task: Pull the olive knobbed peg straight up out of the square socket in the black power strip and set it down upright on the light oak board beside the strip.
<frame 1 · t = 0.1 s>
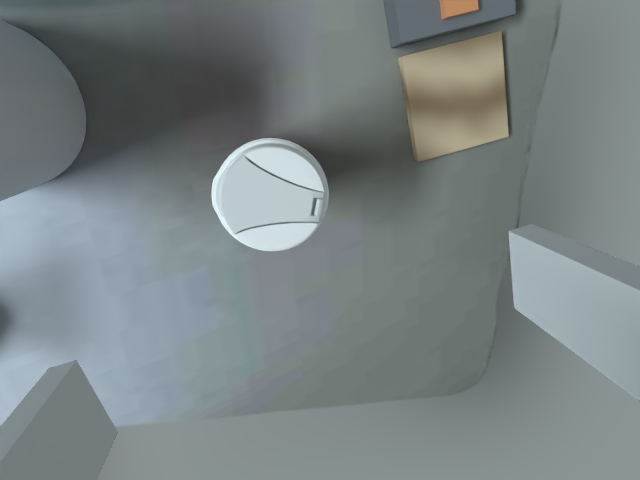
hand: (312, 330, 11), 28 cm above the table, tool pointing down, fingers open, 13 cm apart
oak board: (453, 99, 38), on the table
paper cup: (267, 170, 37), on the table
utensil holder: (5, 108, 32), on the table
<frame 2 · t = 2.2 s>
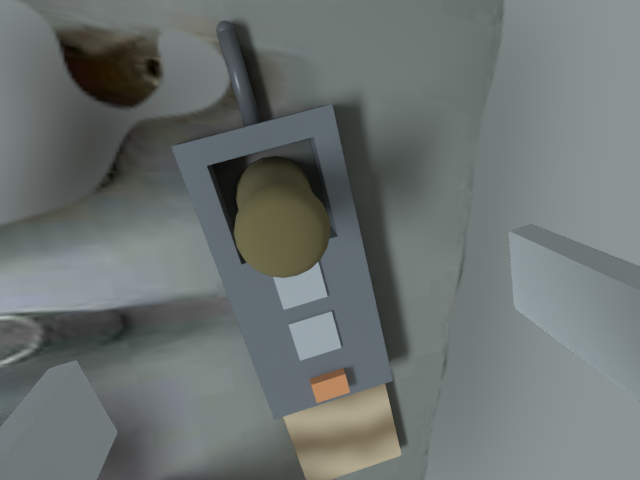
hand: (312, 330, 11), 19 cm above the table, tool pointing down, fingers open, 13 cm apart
oak board: (342, 427, 38), on the table
power strip: (296, 269, 31), on the table
olive knobbed peg: (274, 195, 29), resting in power strip
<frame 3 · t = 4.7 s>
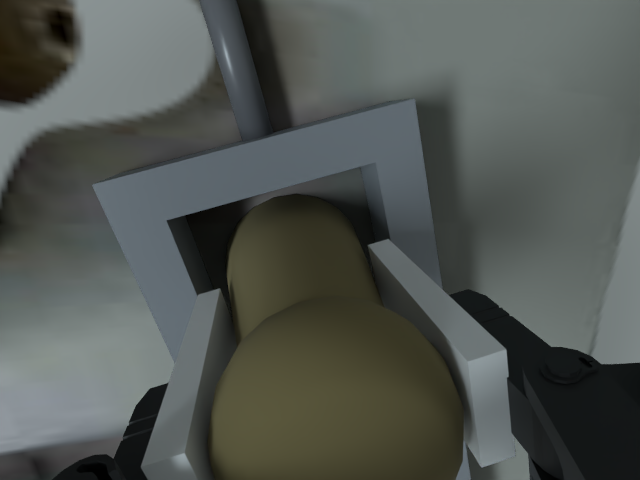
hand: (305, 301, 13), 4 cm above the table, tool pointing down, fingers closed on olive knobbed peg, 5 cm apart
power strip: (328, 376, 19), on the table
olive knobbed peg: (294, 259, 17), resting in power strip, touching gripper
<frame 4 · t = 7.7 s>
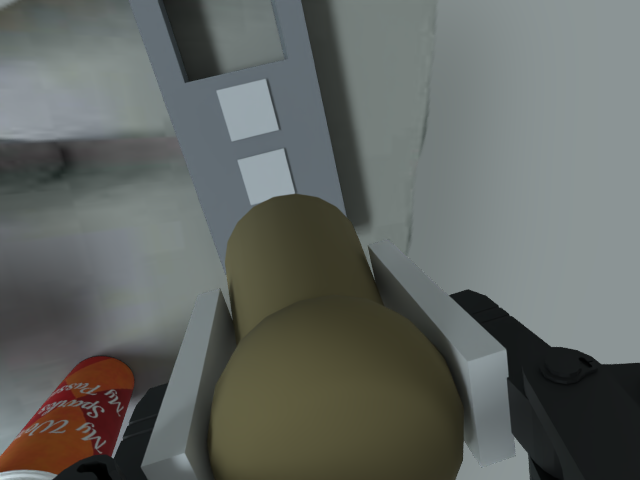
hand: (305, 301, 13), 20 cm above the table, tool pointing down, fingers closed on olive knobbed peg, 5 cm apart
paper cup: (103, 379, 35), on the table
power strip: (248, 110, 30), on the table
olive knobbed peg: (294, 259, 17), point 16 cm above the table, touching gripper
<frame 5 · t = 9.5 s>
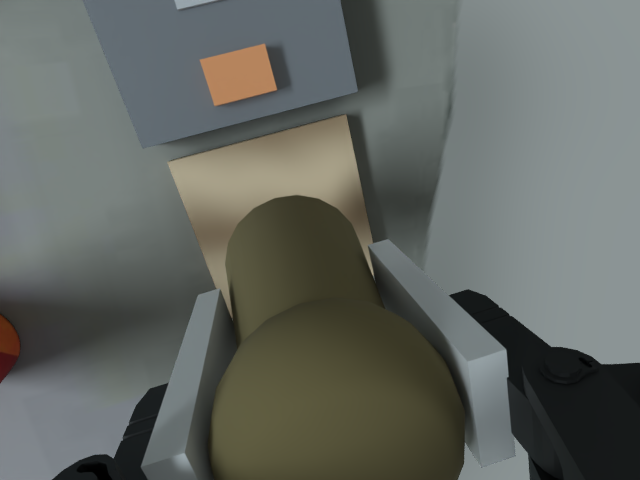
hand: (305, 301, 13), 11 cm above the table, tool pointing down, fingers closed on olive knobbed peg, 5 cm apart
oak board: (282, 218, 23), on the table
olive knobbed peg: (294, 260, 17), point 7 cm above the table, touching gripper
when the fingers open (6 cm above the table, at t = 11.0 s): olive knobbed peg drops 1 cm, resting on oak board.
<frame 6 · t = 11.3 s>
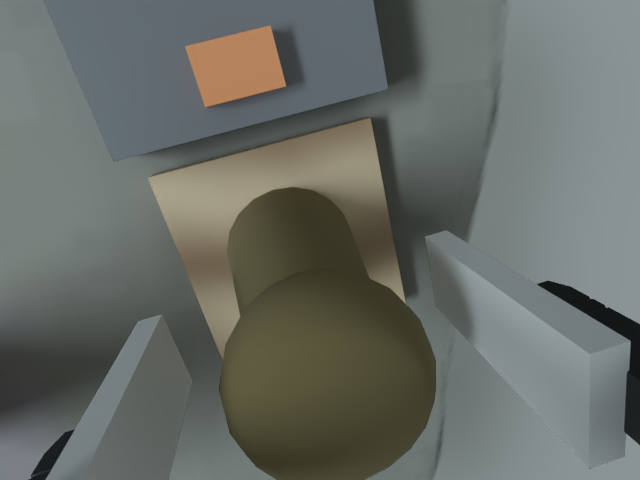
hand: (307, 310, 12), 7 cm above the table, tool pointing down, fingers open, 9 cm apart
oak board: (290, 243, 19), on the table
olive knobbed peg: (291, 248, 18), point 1 cm above the table, touching oak board
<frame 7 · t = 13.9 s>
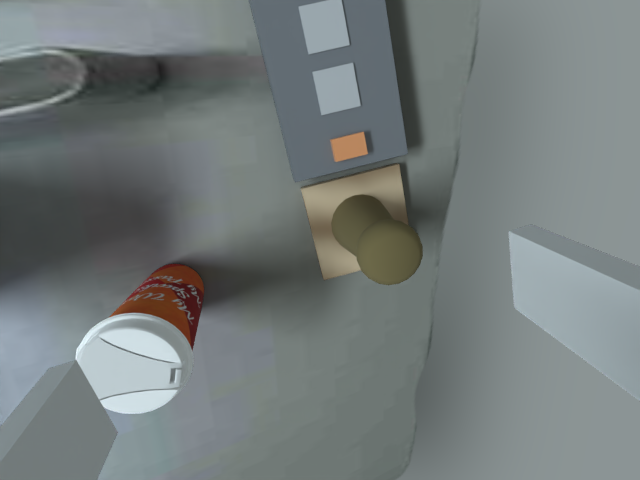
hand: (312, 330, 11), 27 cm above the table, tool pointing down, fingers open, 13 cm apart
oak board: (358, 221, 39), on the table
paper cup: (176, 287, 39), on the table
power strip: (320, 33, 34), on the table
olive knobbed peg: (359, 223, 39), point 1 cm above the table, touching oak board
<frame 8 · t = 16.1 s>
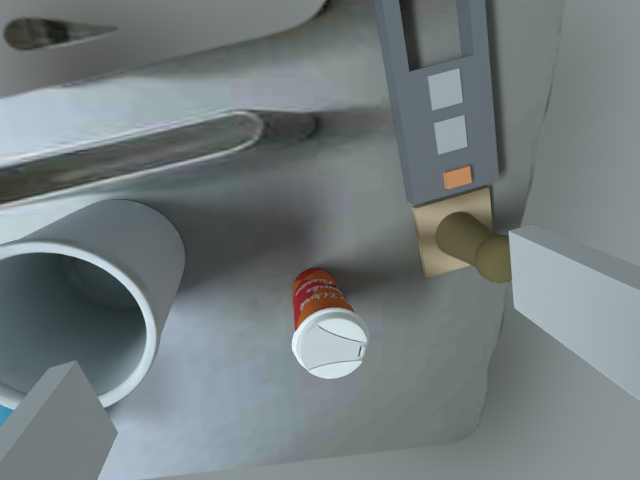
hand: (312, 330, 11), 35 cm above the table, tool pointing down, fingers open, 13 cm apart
oak board: (453, 231, 50), on the table
paper cup: (313, 287, 49), on the table
power strip: (435, 91, 44), on the table
olive knobbed peg: (456, 233, 49), point 1 cm above the table, touching oak board
utensil holder: (128, 254, 44), on the table
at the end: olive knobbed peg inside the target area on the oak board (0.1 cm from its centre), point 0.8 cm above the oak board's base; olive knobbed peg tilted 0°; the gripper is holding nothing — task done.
